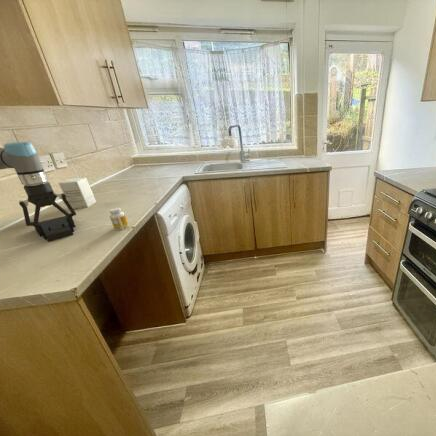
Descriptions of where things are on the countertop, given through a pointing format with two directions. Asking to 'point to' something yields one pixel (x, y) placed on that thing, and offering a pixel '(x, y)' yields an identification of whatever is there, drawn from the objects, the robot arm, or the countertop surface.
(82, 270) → the countertop surface
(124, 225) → the supplement bottle
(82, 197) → the rectangular carton
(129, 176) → the countertop surface
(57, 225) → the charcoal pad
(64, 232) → the black pad
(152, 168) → the countertop surface
